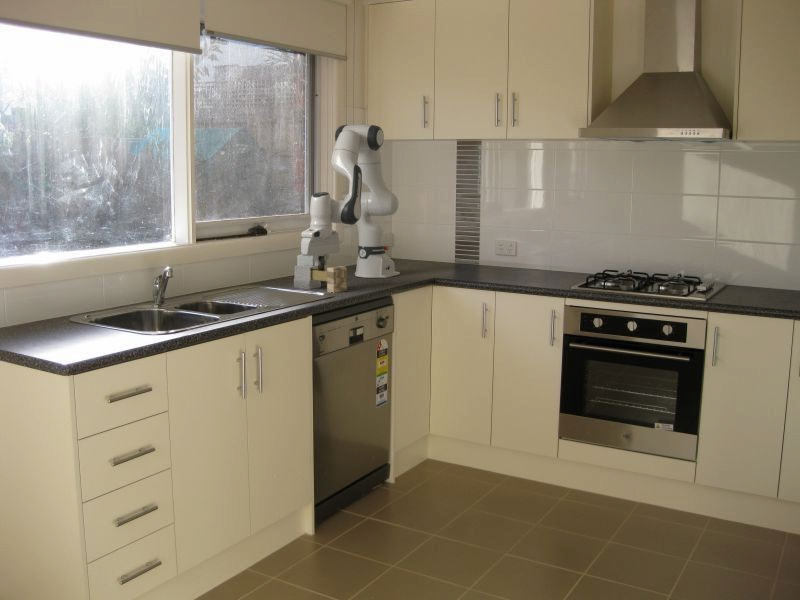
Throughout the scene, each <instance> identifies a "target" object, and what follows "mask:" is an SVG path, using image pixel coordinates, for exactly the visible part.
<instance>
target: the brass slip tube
mask: <svg viewBox="0 0 800 600" xmlns="http://www.w3.org/2000/svg"><path fill="white" fill-rule="evenodd" d="M318 260H319V261H320V264H321V265H320V266H318V269H311V279H312V280H320V281H321V282H327V269H326V267H325V266H326V265H325V256H324V255H319V258H318Z"/></svg>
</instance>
